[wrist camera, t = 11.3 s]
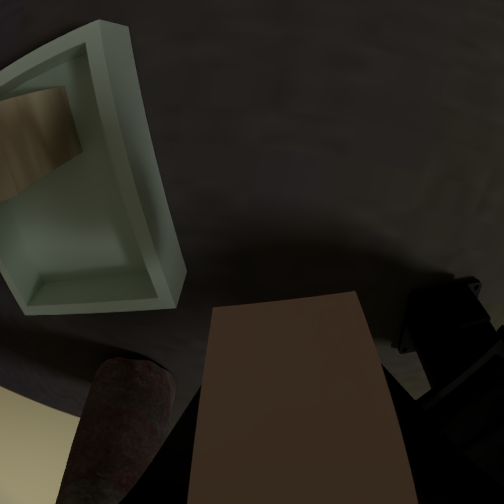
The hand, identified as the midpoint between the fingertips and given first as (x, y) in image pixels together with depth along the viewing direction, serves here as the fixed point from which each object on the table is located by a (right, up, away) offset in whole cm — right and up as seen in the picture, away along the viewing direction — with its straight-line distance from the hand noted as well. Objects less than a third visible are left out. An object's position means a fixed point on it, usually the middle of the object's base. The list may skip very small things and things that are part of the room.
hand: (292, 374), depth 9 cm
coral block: (0, +1, +1) cm, 1 cm away
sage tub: (-12, +8, +8) cm, 17 cm away
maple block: (-13, +10, +6) cm, 17 cm away
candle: (-12, -8, +18) cm, 23 cm away
